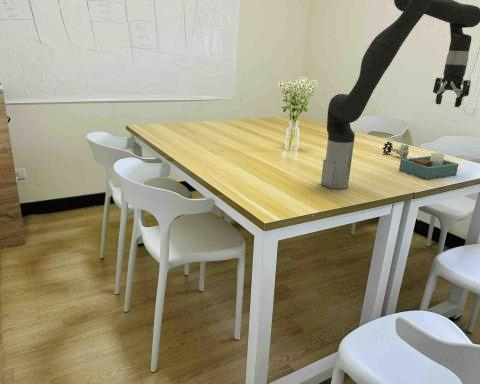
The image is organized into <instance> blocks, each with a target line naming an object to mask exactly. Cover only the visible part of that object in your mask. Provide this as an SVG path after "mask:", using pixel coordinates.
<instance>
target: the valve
mask: <svg viewBox="0 0 480 384" xmlns="http://www.w3.org/2000/svg"><path fill="white" fill-rule="evenodd" d="M383 144H384V147H382V150H383V151H382V153H383V154H385V155H389V154H390V153H392V152H393V153H395V154H397V155H398V159H399V160H401V159H408V155H409V147H410V146H409V145H408V144H401V145H400V147H393V142H391V141H387V142H386V143H383Z"/></svg>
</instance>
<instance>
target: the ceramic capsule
mask: <svg viewBox="0 0 480 384" xmlns="http://www.w3.org/2000/svg"><path fill="white" fill-rule="evenodd" d="M430 156H431V158H430V161H432V162H433V163H432V167H433V166H441V165H442V164H443V160H445V159H444V158H445V154H444V153H438V152H431V154H430Z"/></svg>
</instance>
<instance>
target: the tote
mask: <svg viewBox="0 0 480 384" xmlns="http://www.w3.org/2000/svg"><path fill="white" fill-rule="evenodd" d="M430 158H431V155H428V156H419V157H411V158H409V157H407V159H400V163H399V168H398V171H399V172H402V173H404V174H407V175H410V176H413V177H416V178H418V179H422V180H425V181H429V180H436V179H442V178H447V177H454V176H455V177H456V176H457V173H458V170H459V169H458V168H459V165H460V164H459V163H457V162H453V161H451V160H446V159H443V164H442V165H441V166H433V167H426V166H423V165H420V164H416V163H414V160H416V159H425V160H429V161H430Z"/></svg>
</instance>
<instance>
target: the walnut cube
mask: <svg viewBox="0 0 480 384" xmlns="http://www.w3.org/2000/svg"><path fill="white" fill-rule="evenodd" d="M414 163H416V164H420V165H423V166H426V167H432V163H433V162H432V161H429V160H425V159H416V160H414Z"/></svg>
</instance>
